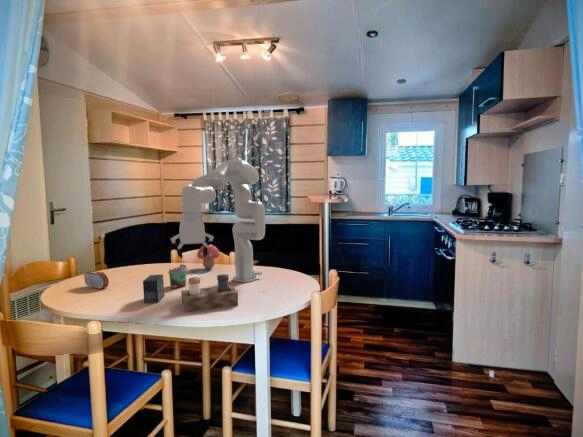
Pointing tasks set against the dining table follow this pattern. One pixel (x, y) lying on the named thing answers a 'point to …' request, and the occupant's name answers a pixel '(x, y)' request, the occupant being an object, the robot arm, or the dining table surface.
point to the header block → (209, 299)
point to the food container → (178, 277)
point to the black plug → (222, 282)
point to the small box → (153, 289)
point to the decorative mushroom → (208, 256)
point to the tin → (96, 280)
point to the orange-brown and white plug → (194, 286)
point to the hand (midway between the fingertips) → (193, 257)
